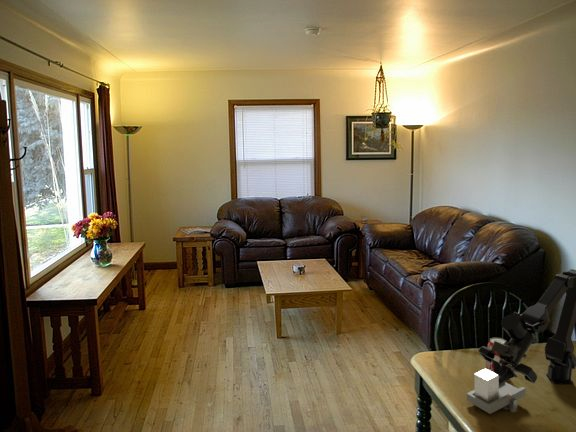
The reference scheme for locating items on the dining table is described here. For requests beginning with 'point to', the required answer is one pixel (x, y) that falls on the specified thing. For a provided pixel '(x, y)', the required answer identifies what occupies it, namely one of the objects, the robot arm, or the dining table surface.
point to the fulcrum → (511, 405)
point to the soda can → (490, 345)
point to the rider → (486, 386)
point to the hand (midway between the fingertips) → (492, 385)
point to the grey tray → (505, 397)
